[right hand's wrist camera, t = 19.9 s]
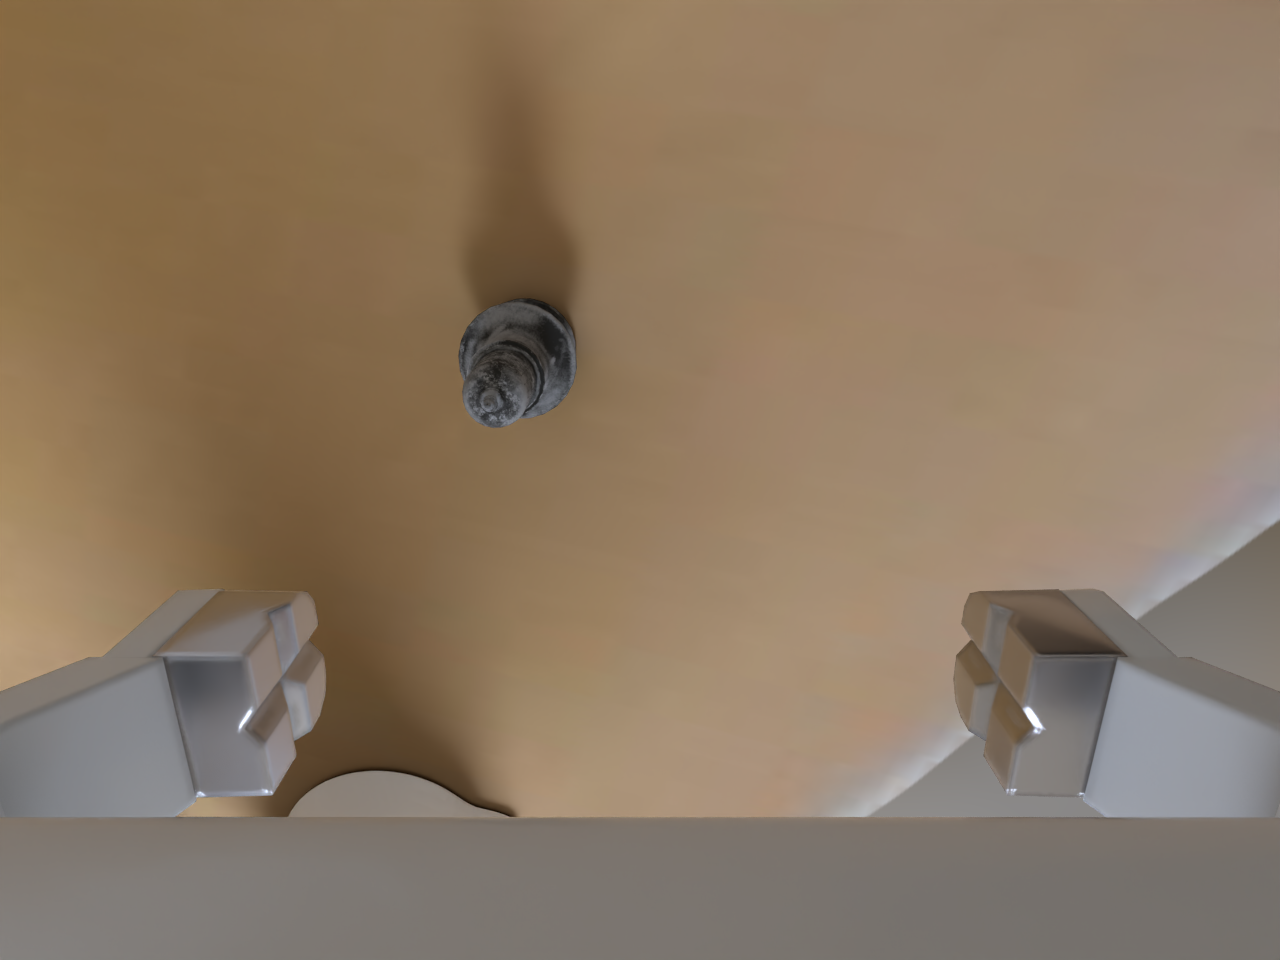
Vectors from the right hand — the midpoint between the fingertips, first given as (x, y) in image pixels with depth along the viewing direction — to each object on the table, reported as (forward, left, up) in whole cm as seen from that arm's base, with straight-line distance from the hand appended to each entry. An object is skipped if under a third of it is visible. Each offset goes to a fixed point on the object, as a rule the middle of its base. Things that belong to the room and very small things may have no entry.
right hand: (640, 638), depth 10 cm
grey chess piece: (-1, +7, -35) cm, 35 cm away
